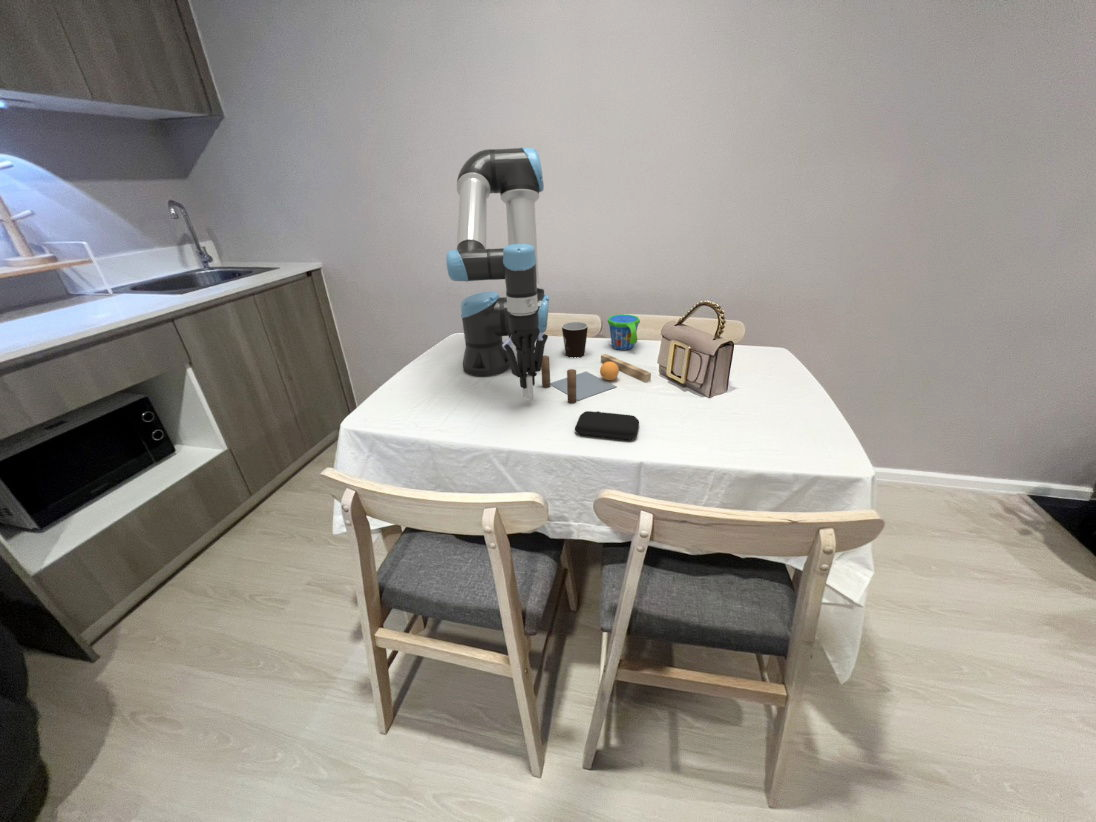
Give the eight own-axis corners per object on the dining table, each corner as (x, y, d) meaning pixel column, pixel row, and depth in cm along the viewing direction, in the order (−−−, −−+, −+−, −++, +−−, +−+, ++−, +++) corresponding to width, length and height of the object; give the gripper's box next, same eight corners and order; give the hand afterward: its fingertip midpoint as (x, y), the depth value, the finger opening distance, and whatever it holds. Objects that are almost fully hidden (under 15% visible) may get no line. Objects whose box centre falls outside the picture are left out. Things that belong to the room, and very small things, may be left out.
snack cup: (601, 341, 166) (601, 313, 161) (628, 338, 168) (629, 310, 163) (616, 356, 153) (617, 326, 148) (645, 353, 154) (647, 323, 150)
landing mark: (548, 384, 135) (548, 383, 135) (586, 371, 142) (586, 371, 142) (578, 400, 125) (578, 400, 125) (616, 387, 132) (616, 386, 132)
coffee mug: (586, 359, 151) (586, 330, 146) (560, 358, 153) (559, 329, 148) (590, 347, 161) (590, 319, 156) (566, 346, 163) (565, 318, 158)
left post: (540, 386, 134) (539, 357, 130) (547, 383, 136) (546, 355, 131) (545, 388, 133) (543, 359, 128) (552, 386, 134) (550, 357, 130)
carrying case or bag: (640, 422, 115) (582, 416, 118) (640, 411, 113) (582, 406, 117) (635, 444, 106) (573, 437, 109) (636, 433, 104) (573, 426, 108)
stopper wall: (600, 362, 149) (601, 355, 147) (605, 360, 150) (605, 353, 148) (645, 382, 134) (646, 374, 133) (650, 380, 135) (651, 372, 134)
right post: (565, 401, 125) (565, 370, 121) (572, 398, 126) (572, 368, 122) (571, 404, 124) (570, 373, 119) (578, 401, 125) (578, 371, 120)
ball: (612, 372, 140) (597, 380, 138) (609, 356, 137) (594, 363, 135) (623, 377, 136) (609, 385, 134) (621, 361, 133) (606, 368, 131)
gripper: (507, 320, 107) (514, 409, 118) (553, 309, 113) (556, 395, 124) (492, 313, 112) (500, 399, 123) (536, 303, 119) (540, 386, 130)
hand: (528, 397), depth 124 cm, fingers closed
